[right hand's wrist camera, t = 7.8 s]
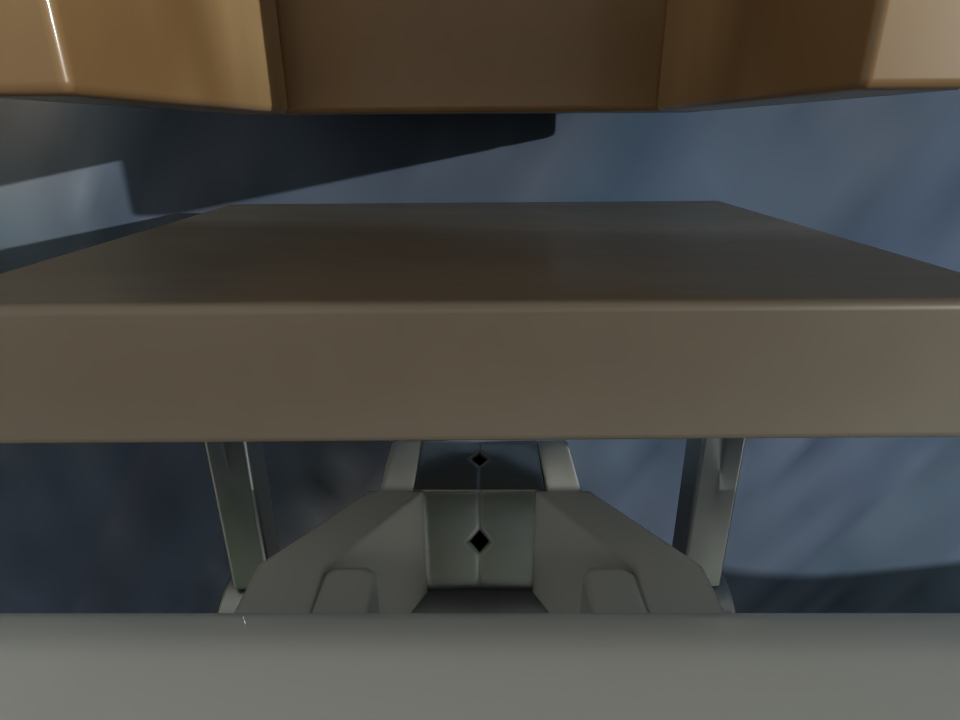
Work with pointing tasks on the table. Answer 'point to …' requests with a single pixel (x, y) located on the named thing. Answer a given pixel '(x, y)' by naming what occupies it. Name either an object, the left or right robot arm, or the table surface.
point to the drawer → (476, 253)
